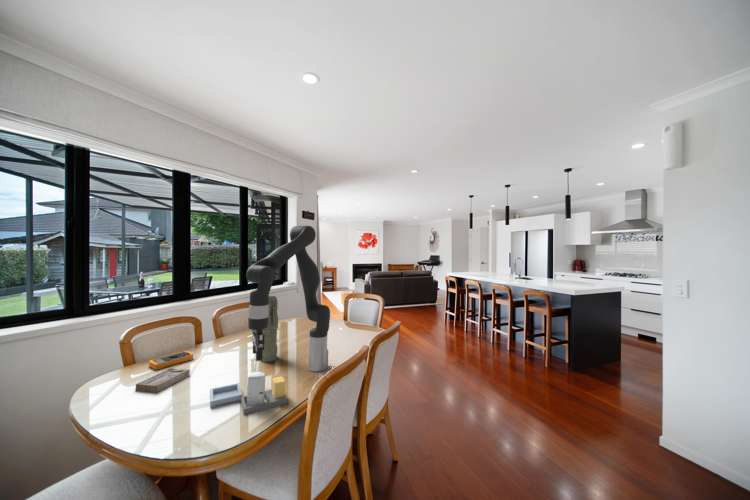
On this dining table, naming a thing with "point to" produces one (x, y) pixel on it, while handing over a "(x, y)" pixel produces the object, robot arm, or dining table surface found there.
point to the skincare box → (256, 388)
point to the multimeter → (170, 360)
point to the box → (162, 380)
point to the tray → (225, 395)
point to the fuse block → (268, 397)
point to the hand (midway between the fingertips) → (257, 356)
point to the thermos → (271, 333)
